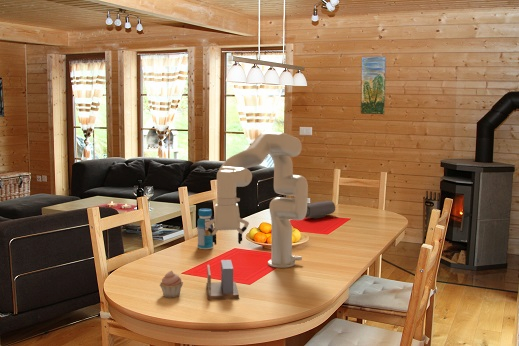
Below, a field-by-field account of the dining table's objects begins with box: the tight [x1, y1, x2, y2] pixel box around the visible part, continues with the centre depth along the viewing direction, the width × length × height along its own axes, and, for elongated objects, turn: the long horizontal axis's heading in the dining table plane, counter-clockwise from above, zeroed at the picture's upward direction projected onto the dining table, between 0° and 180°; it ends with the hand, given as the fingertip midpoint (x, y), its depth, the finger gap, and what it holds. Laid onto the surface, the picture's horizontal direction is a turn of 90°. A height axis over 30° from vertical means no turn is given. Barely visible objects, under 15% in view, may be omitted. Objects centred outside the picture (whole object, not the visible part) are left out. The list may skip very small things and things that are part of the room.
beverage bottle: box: [196, 208, 215, 250], centre depth 298 cm, size 8×8×20 cm
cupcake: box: [159, 270, 184, 299], centre depth 228 cm, size 9×9×10 cm
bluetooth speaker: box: [305, 200, 336, 220], centre depth 374 cm, size 23×9×10 cm, turn 130°
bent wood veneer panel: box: [205, 264, 240, 301], centre depth 232 cm, size 12×16×10 cm
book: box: [220, 259, 234, 294], centre depth 232 cm, size 4×12×10 cm, turn 7°
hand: (227, 243), depth 230 cm, fingers open, 9 cm apart
